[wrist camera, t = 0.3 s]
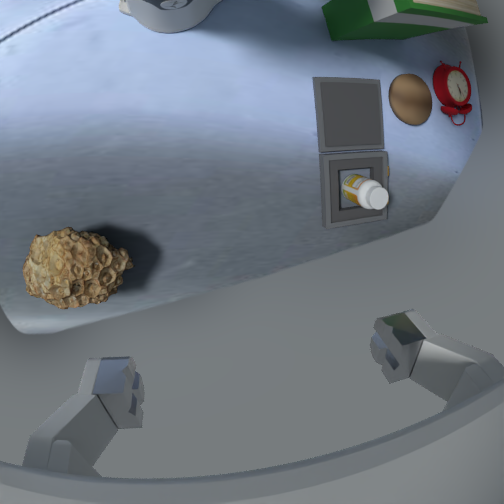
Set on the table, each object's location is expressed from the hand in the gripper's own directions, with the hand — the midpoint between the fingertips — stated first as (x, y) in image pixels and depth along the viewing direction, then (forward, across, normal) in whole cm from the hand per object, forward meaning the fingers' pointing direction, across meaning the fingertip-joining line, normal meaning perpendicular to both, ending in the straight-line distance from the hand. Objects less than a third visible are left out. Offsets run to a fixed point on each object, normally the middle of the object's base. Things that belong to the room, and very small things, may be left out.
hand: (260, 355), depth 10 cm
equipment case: (+49, -28, +2) cm, 56 cm away
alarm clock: (+51, -55, -12) cm, 76 cm away
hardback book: (+51, -32, -25) cm, 65 cm away
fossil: (+46, +26, +15) cm, 55 cm away
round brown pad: (+50, -42, -9) cm, 66 cm away
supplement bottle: (+48, -28, +9) cm, 56 cm away
